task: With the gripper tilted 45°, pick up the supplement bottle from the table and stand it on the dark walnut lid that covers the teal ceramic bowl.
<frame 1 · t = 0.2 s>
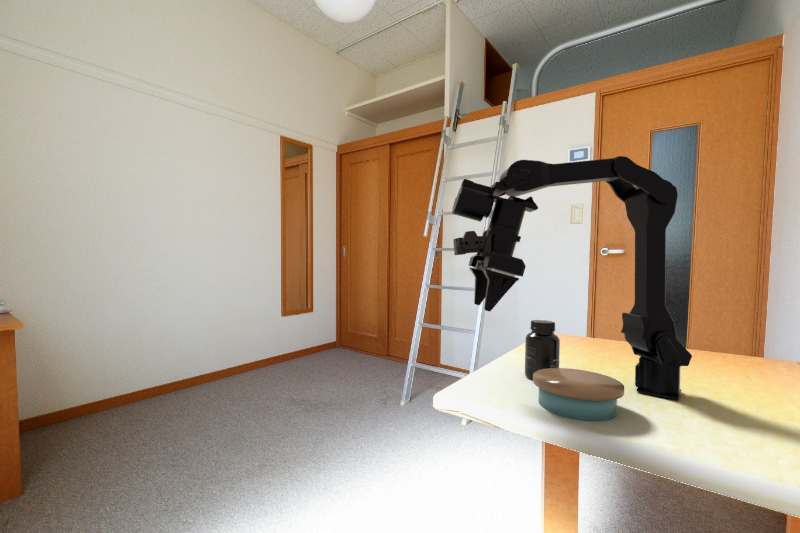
hand: (481, 307, 71), 16 cm above the table, tool pointing down, fingers open, 9 cm apart
supplement bottle: (541, 378, 80), on the table
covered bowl: (575, 406, 64), on the table
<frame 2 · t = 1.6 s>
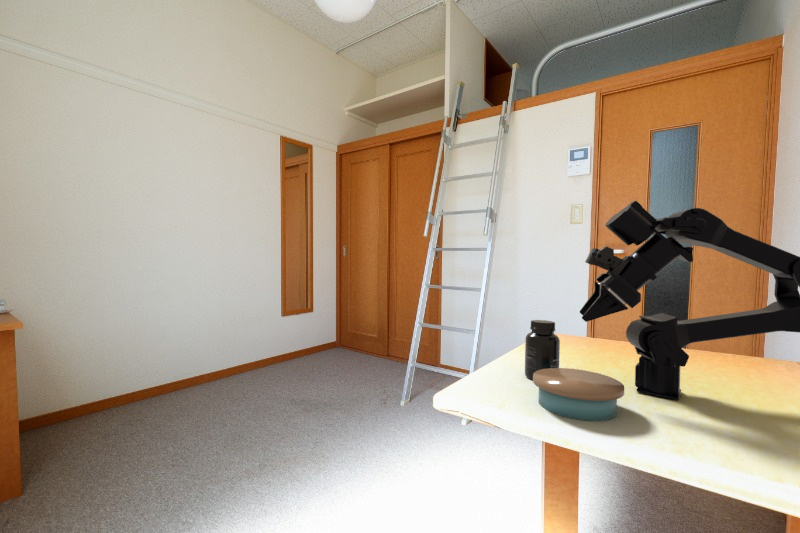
hand: (582, 316, 76), 14 cm above the table, tool tilted 45°, fingers open, 9 cm apart
nothing on the table moved.
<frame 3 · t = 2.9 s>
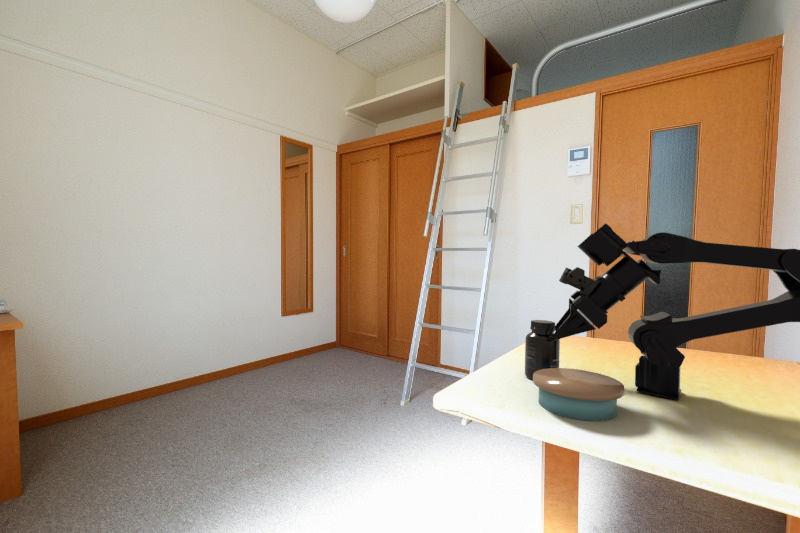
hand: (554, 333, 78), 10 cm above the table, tool tilted 45°, fingers open, 9 cm apart
nothing on the table moved.
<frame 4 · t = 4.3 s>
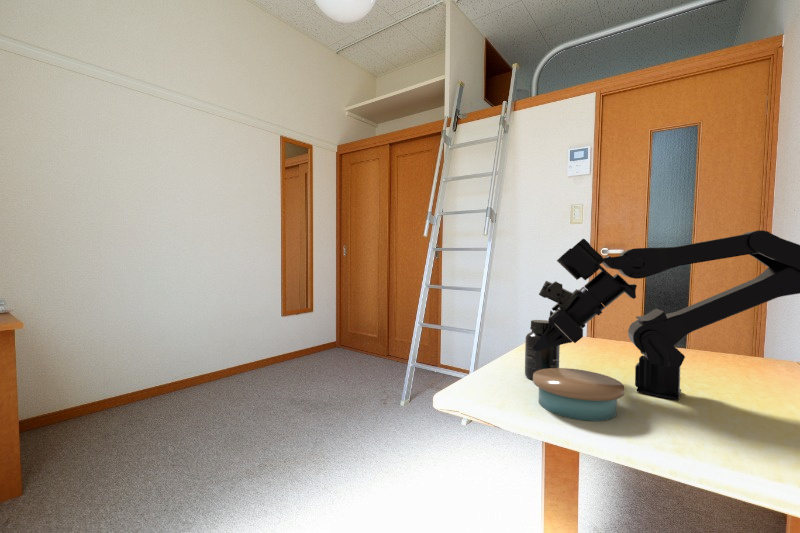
hand: (535, 345, 80), 7 cm above the table, tool tilted 45°, fingers closed on supplement bottle, 7 cm apart
supplement bottle: (541, 378, 80), on the table, touching gripper
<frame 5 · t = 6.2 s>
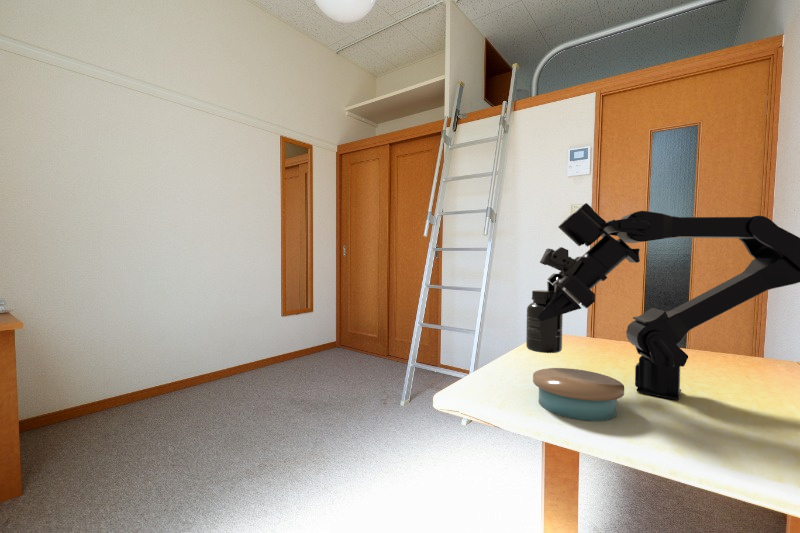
hand: (537, 316, 77), 13 cm above the table, tool tilted 45°, fingers closed on supplement bottle, 7 cm apart
supplement bottle: (543, 350, 76), point 6 cm above the table, touching gripper
when the fingers open (12 cm above the table, at t = 7.9 s): supplement bottle drops 1 cm, resting on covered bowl.
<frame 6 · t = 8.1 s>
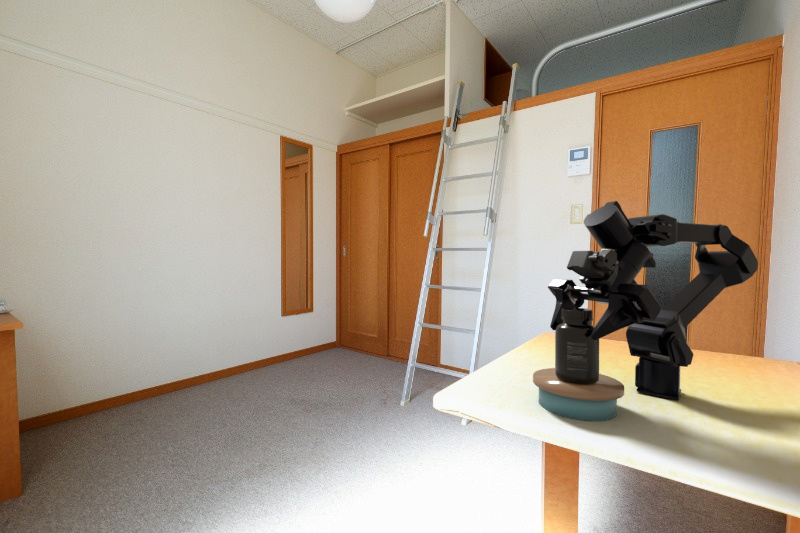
hand: (571, 333, 63), 13 cm above the table, tool tilted 45°, fingers open, 8 cm apart
supplement bottle: (576, 380, 64), point 4 cm above the table, touching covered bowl
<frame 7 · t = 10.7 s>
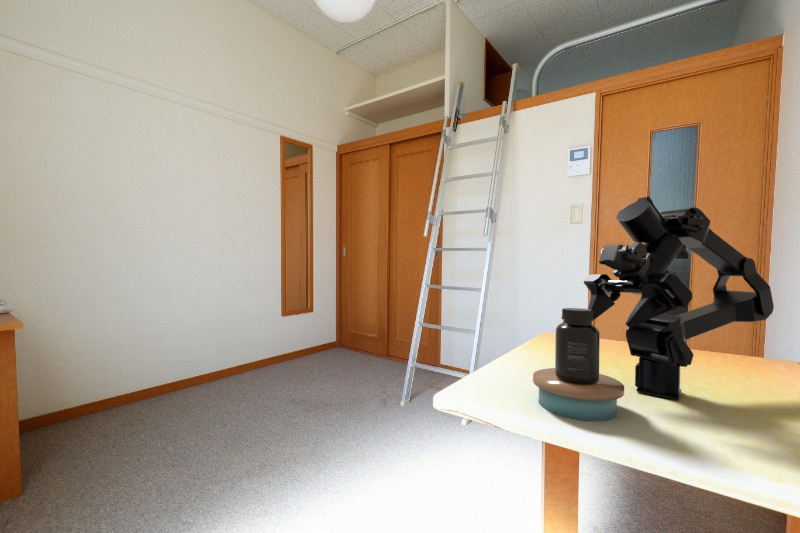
hand: (606, 323, 67), 14 cm above the table, tool tilted 45°, fingers open, 9 cm apart
nothing on the table moved.
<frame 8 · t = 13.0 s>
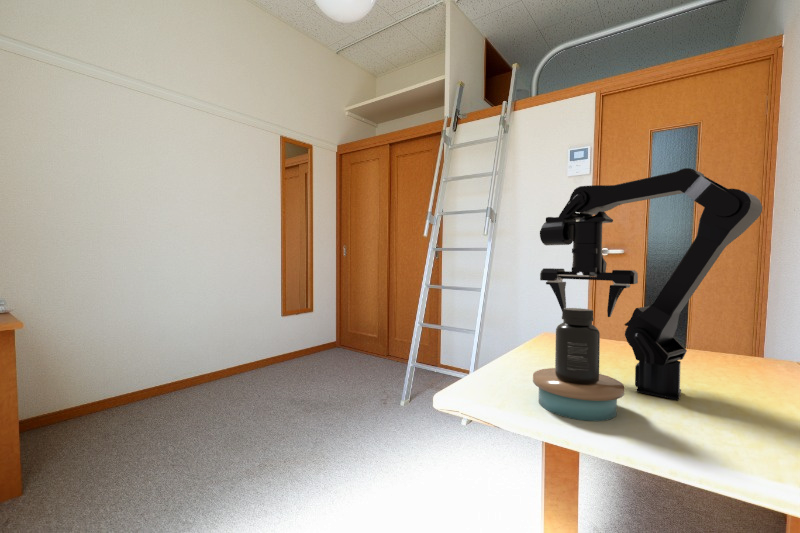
hand: (585, 314, 83), 13 cm above the table, tool pointing down, fingers open, 9 cm apart
nothing on the table moved.
at the end: supplement bottle inside the target area on the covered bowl (0.2 cm from its centre), point 4.3 cm above the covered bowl's base; supplement bottle tilted 0°; the gripper is holding nothing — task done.
